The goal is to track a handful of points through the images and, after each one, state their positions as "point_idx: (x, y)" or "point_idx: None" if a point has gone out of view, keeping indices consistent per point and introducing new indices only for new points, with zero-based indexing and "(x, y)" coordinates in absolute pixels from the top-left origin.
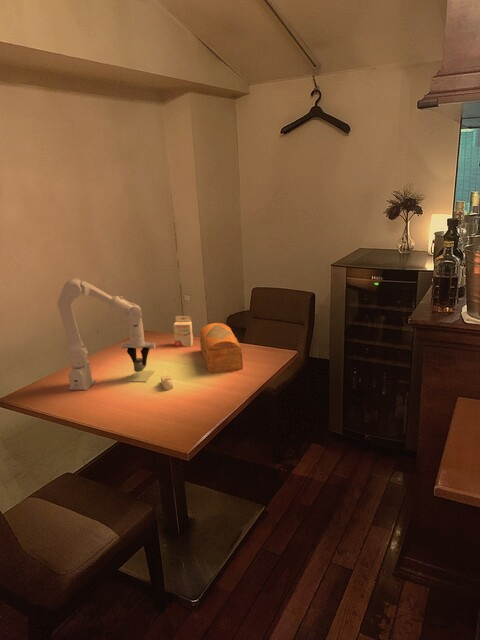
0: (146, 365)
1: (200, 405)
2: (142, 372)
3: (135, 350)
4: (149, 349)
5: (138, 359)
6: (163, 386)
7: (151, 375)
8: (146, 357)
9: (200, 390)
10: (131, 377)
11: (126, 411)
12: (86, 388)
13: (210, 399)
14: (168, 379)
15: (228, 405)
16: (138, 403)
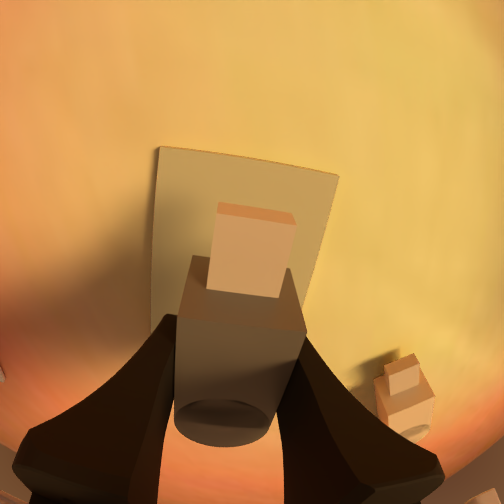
0: (289, 269)
1: (443, 457)
2: (225, 197)
3: (146, 465)
4: (420, 452)
5: (207, 370)
6: (379, 413)
7: (315, 256)
8: (328, 384)
9: (485, 399)
10: (155, 292)
11: (242, 497)
12: (2, 379)
13: (477, 433)
14: (415, 432)
15: (490, 441)
16: (272, 479)
